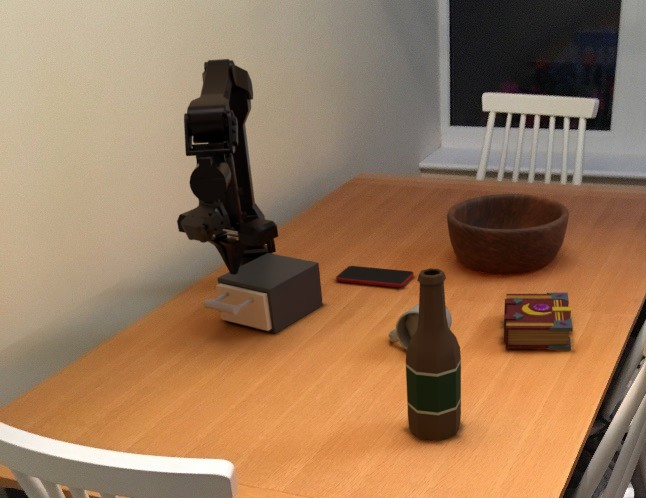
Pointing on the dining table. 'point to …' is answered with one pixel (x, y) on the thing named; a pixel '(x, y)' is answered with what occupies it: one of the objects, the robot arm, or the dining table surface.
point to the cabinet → (281, 286)
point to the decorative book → (537, 321)
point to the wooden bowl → (507, 232)
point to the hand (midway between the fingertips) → (234, 273)
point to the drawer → (241, 306)
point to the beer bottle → (433, 365)
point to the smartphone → (375, 276)
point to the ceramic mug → (410, 326)
